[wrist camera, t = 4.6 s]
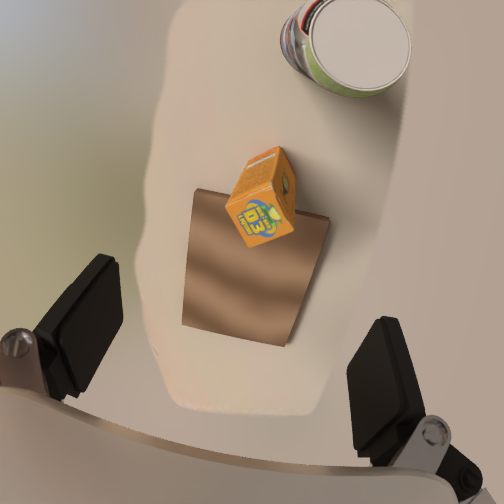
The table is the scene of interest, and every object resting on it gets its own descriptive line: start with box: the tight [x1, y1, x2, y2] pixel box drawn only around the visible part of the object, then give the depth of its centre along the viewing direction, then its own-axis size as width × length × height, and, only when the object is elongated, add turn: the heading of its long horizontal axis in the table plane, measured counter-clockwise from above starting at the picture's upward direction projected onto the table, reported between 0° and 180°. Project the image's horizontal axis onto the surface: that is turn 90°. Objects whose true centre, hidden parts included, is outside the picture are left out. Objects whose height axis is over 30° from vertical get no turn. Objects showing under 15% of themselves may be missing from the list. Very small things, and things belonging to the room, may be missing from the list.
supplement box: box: [225, 146, 296, 248], centre depth 22 cm, size 3×3×10 cm
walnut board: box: [182, 188, 330, 347], centre depth 31 cm, size 16×12×1 cm
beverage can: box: [280, 0, 412, 97], centre depth 15 cm, size 6×7×12 cm
